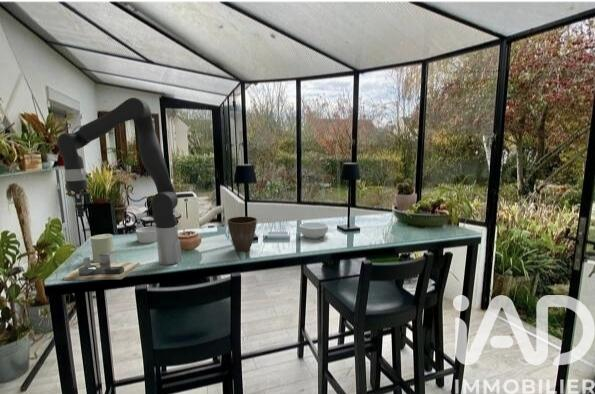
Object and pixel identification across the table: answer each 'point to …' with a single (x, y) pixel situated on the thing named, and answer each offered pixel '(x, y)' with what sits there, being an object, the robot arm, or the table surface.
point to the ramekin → (147, 234)
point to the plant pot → (242, 232)
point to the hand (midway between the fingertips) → (81, 215)
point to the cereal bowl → (313, 230)
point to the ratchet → (97, 269)
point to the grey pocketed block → (107, 259)
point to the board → (127, 269)
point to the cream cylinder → (101, 245)
